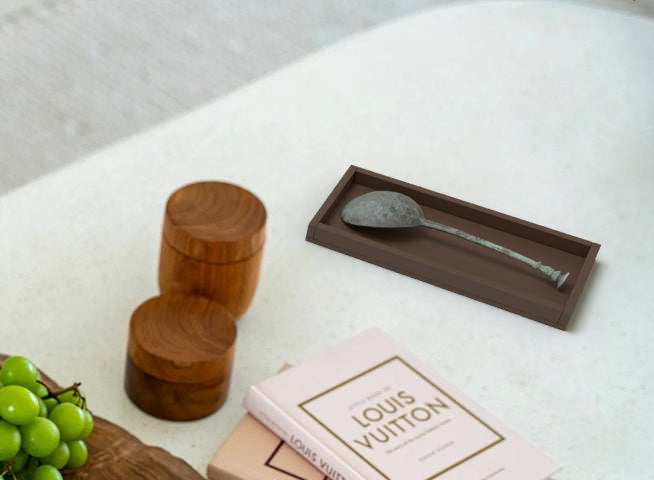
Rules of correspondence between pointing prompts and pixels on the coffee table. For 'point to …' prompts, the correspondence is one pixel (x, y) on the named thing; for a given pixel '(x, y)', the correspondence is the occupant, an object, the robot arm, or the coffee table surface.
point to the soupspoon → (420, 223)
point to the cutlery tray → (461, 249)
